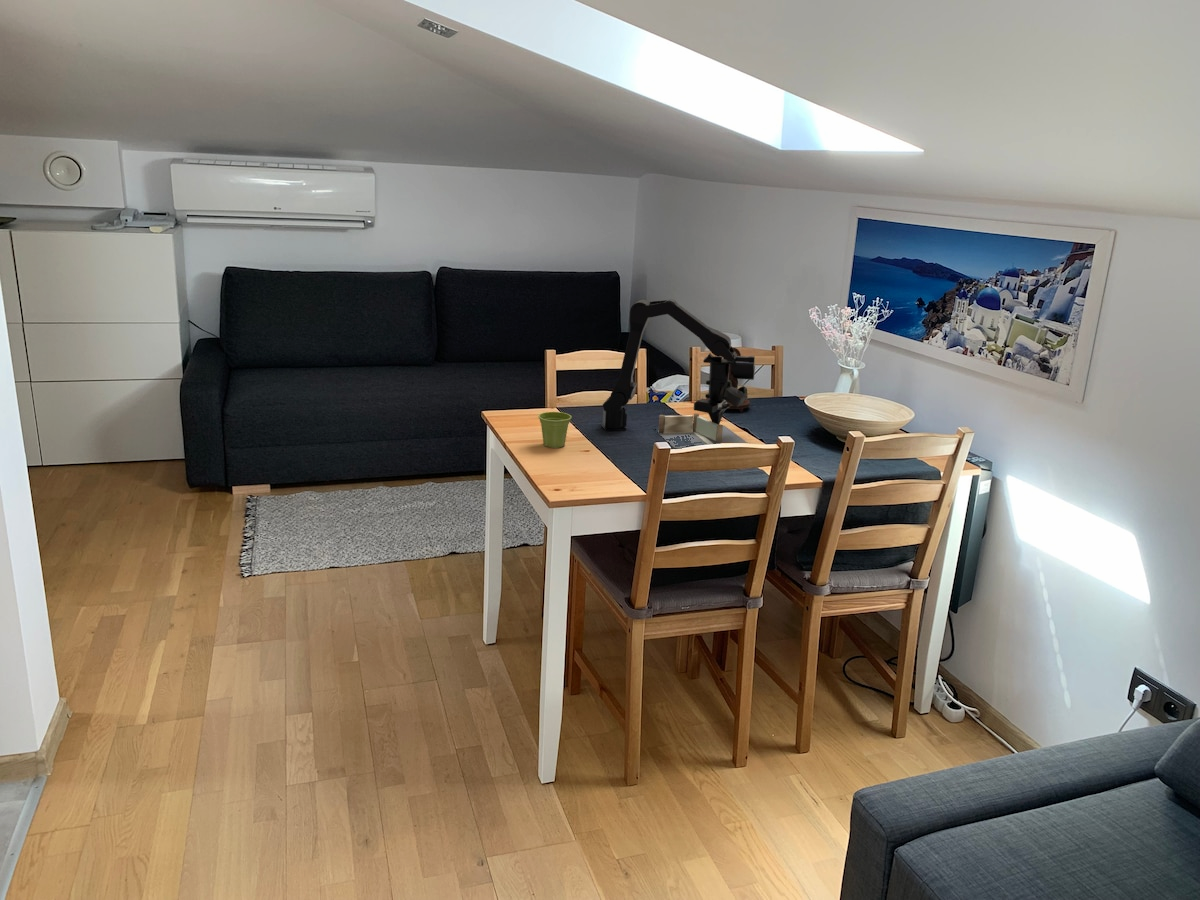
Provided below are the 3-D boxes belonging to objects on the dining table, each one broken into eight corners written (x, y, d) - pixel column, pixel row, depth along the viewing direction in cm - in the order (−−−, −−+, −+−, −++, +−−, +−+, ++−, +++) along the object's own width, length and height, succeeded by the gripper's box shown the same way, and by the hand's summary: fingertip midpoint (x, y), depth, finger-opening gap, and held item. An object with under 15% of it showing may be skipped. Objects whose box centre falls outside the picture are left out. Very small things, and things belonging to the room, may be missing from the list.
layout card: (675, 449, 267) (675, 448, 267) (652, 428, 286) (652, 427, 286) (751, 446, 273) (751, 445, 273) (724, 426, 292) (724, 425, 292)
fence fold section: (695, 431, 282) (696, 415, 281) (699, 431, 283) (700, 415, 282) (718, 442, 273) (719, 426, 271) (722, 442, 274) (724, 425, 272)
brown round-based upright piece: (706, 400, 322) (711, 343, 316) (749, 404, 320) (755, 347, 314) (704, 411, 309) (709, 352, 302) (749, 415, 307) (755, 355, 300)
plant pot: (541, 451, 259) (542, 421, 256) (534, 440, 267) (535, 411, 265) (573, 449, 262) (575, 420, 259) (565, 439, 270) (566, 411, 267)
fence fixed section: (659, 433, 280) (660, 415, 278) (657, 432, 282) (658, 414, 280) (698, 432, 283) (699, 414, 282) (696, 430, 285) (697, 413, 283)
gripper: (728, 388, 261) (725, 441, 266) (758, 375, 275) (754, 425, 280) (693, 382, 267) (691, 433, 272) (724, 369, 281) (722, 418, 287)
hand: (716, 428), depth 278 cm, fingers closed
